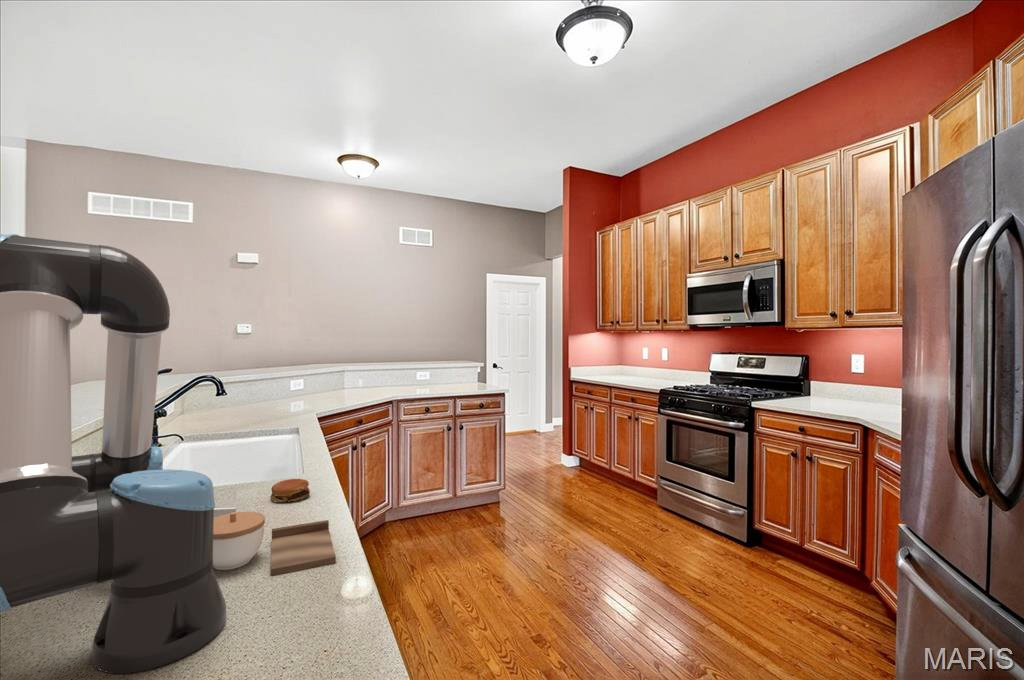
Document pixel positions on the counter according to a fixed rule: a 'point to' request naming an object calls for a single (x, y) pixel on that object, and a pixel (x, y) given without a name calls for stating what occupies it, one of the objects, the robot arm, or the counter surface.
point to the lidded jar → (236, 539)
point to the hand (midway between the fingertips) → (220, 527)
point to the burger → (290, 490)
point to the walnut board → (301, 547)
